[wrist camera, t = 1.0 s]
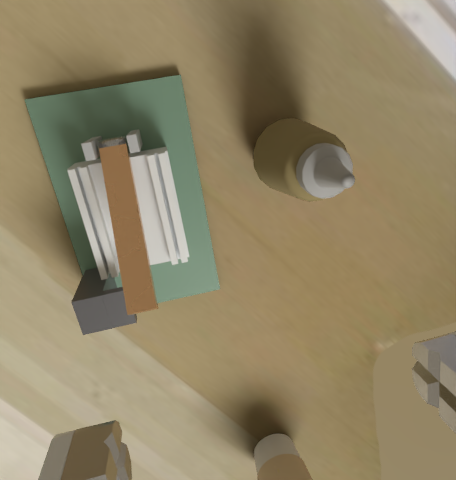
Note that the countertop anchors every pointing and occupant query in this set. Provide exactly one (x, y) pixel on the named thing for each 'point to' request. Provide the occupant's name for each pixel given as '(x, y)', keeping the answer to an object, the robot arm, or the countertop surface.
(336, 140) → the squeeze bottle
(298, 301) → the countertop surface
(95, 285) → the block
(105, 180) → the strap
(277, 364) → the countertop surface
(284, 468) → the coffee cup
